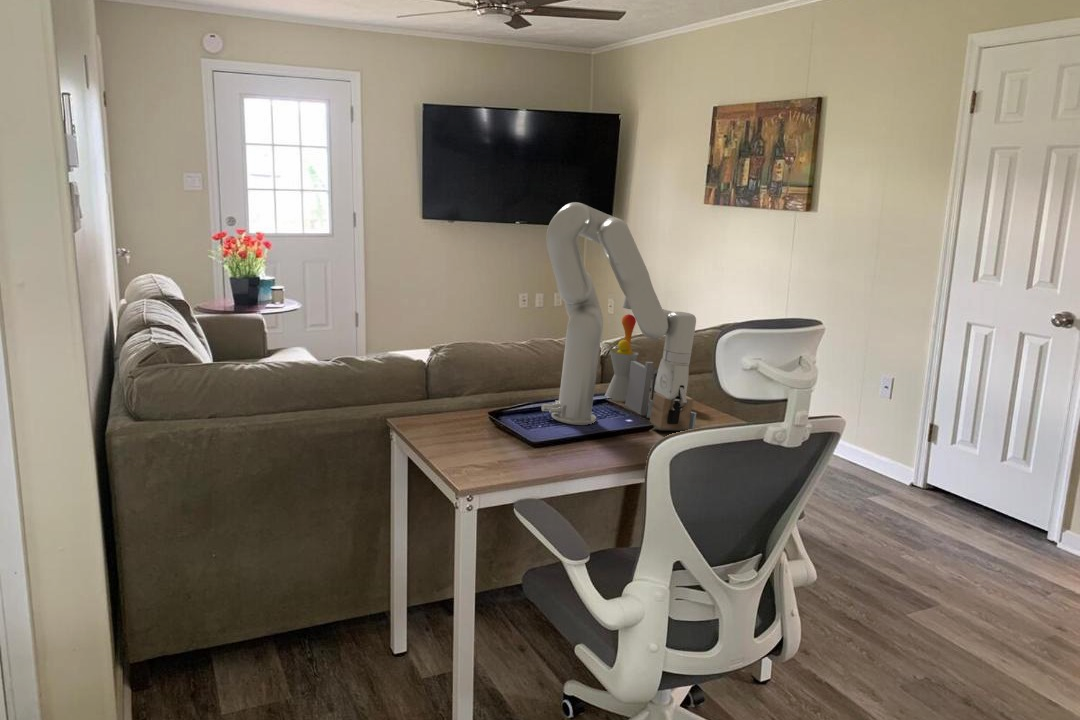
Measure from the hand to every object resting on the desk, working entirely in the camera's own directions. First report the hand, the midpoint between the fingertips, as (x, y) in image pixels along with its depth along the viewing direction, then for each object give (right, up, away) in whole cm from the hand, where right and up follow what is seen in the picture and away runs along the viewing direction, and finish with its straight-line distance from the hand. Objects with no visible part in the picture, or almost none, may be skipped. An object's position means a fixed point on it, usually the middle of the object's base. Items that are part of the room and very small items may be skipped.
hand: (666, 419), depth 225 cm
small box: (+4, +2, +29) cm, 30 cm away
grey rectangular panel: (-7, +1, +19) cm, 20 cm away
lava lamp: (-11, +4, +32) cm, 34 cm away
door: (+2, -2, +8) cm, 8 cm away
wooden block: (+1, -2, +1) cm, 2 cm away
